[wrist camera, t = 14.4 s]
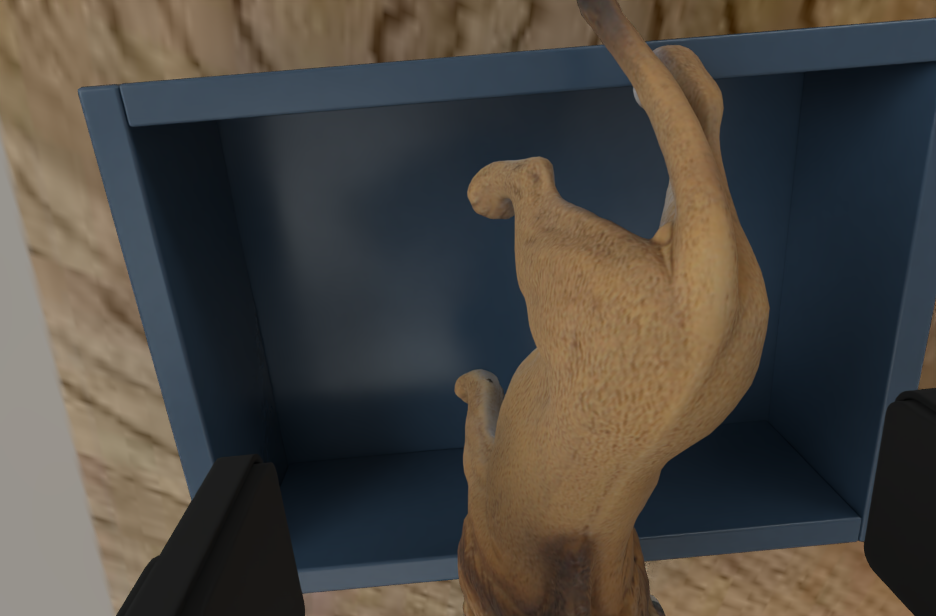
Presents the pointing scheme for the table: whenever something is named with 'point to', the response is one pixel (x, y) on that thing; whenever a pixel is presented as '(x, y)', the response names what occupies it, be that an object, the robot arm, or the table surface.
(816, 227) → the dark blue storage bin
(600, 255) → the lion figurine
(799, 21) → the table surface
